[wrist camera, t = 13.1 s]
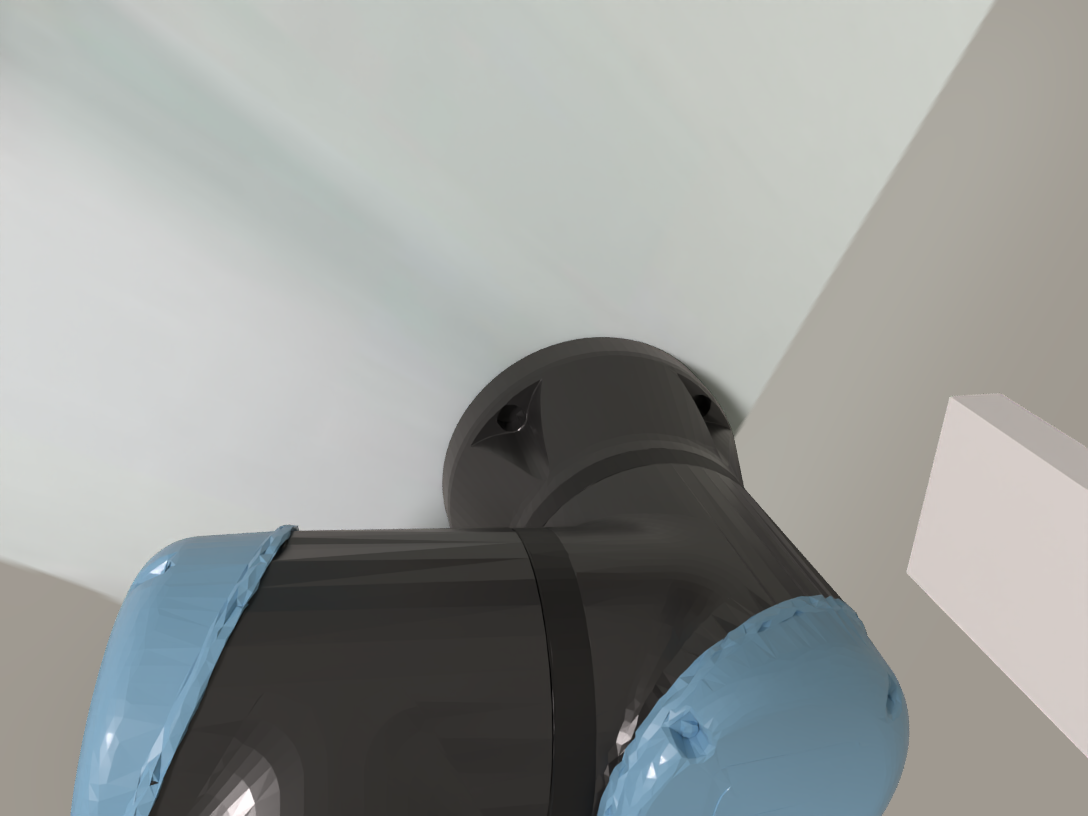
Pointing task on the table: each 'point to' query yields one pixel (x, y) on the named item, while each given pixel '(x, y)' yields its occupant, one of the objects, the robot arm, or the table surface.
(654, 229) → the table surface
